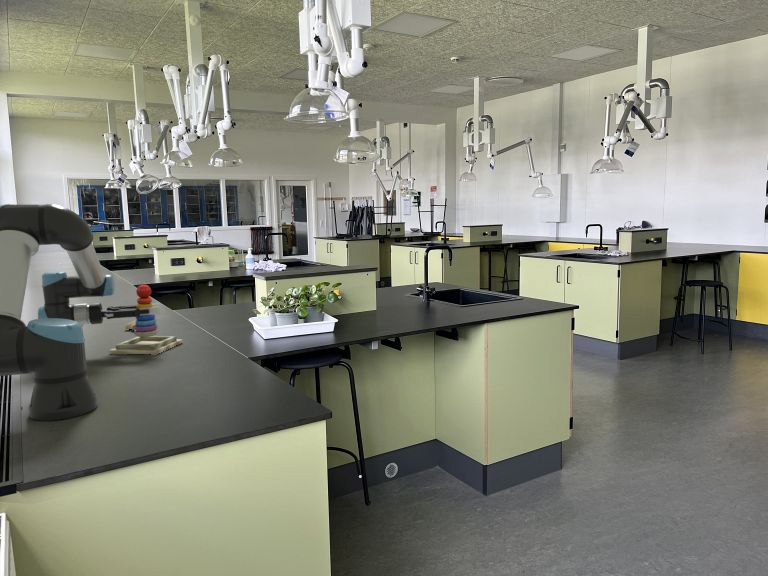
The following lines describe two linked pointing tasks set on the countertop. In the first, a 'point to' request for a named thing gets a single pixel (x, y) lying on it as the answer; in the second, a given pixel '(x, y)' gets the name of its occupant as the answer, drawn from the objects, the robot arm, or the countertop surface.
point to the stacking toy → (145, 322)
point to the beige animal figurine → (132, 325)
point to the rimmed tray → (146, 345)
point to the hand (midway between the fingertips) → (159, 308)
